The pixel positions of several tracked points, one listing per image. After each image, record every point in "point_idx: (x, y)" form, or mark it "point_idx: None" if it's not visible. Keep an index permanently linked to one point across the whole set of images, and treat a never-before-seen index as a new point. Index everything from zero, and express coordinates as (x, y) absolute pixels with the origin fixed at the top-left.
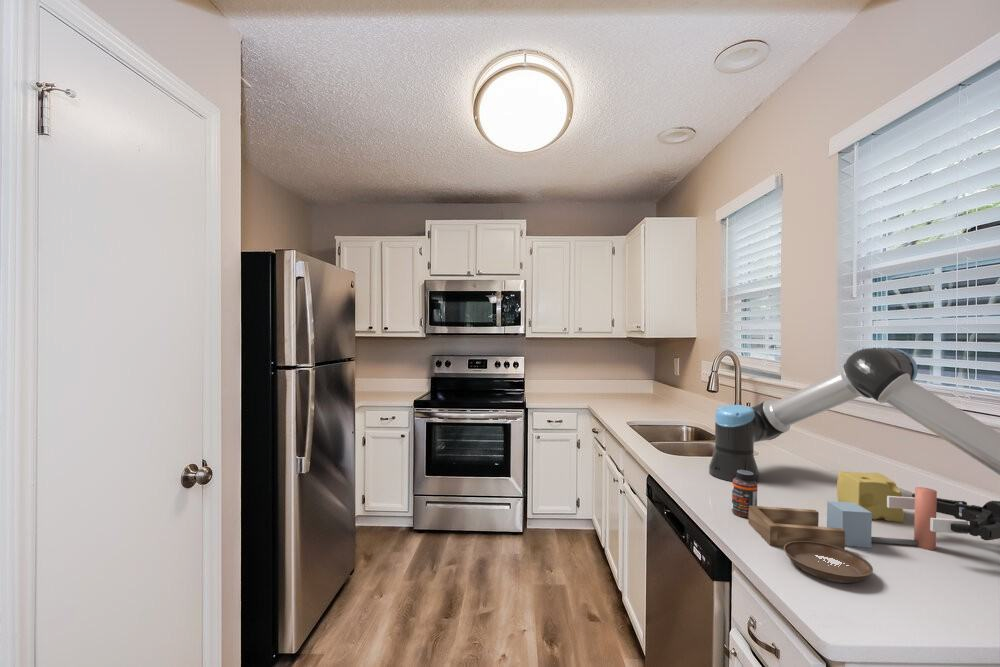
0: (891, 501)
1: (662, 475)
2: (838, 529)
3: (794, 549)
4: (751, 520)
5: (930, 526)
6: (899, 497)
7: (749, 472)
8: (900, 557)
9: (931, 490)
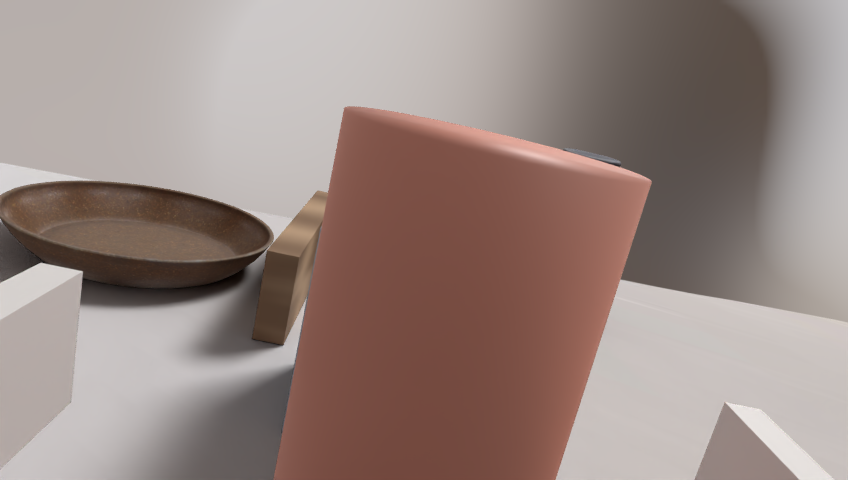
0: (721, 467)
1: (805, 314)
2: (285, 247)
3: (248, 239)
4: None
5: (70, 362)
6: (793, 472)
7: (596, 156)
8: (140, 475)
9: (474, 141)
